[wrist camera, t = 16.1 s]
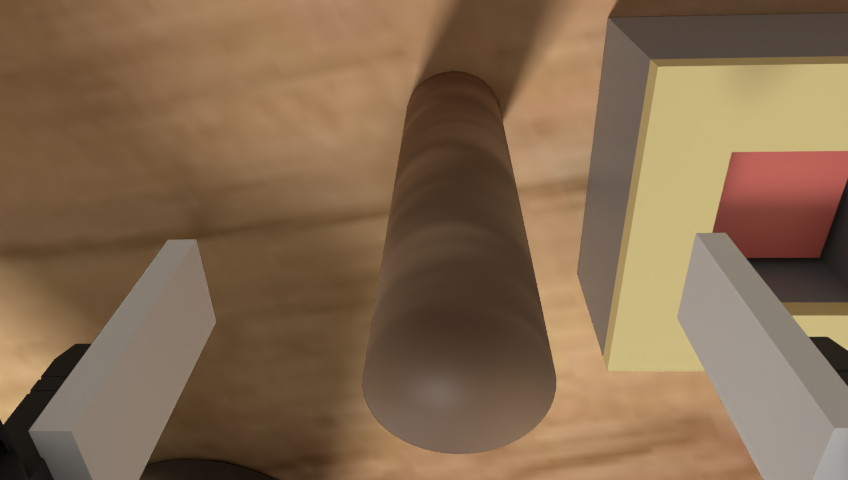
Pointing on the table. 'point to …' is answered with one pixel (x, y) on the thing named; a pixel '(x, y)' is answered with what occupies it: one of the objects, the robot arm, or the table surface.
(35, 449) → the robot arm
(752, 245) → the plunger
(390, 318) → the rounded rod
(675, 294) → the breaker box
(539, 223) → the table surface
